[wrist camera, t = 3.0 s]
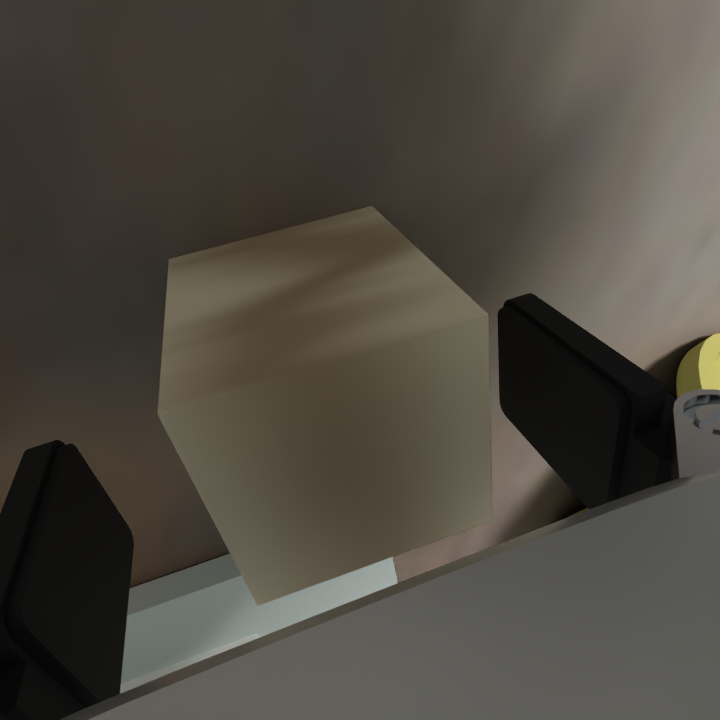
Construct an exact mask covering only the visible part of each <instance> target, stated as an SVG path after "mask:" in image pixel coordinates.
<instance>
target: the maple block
mask: <svg viewBox="0 0 720 720" xmlns="http://www.w3.org/2000/svg"><path fill="white" fill-rule="evenodd" d="M157 415H158V416H159V418H160V420H161V422H162V424H163V426H164V428H165V430H166V432H167V434H168V436H169V437H170V439H171V441H172V443H173V445H174V447H175V449H176V451H177V453H178V455H179V457H180V458H181V460H182V462H183V464H184V466H185V468H186V470H187V472H188V474H189V476H190V478H191V480H192V481H193V483H194V485H195V487H196V489H197V491H198V493H199V495H200V497H201V499H202V501H203V502H204V504H205V506H206V508H207V510H208V512H209V514H210V516H211V518H212V520H213V522H214V523H215V525H216V527H217V529H218V531H219V533H220V535H221V537H222V539H223V541H224V543H225V545H226V546H227V548H228V550H229V552H230V554H231V556H232V558H233V560H234V562H235V564H236V566H237V567H238V569H239V571H240V573H241V575H242V577H243V579H244V581H245V583H246V585H247V587H248V588H249V590H250V592H251V594H252V596H253V598H254V600H255V602H256V604H257V606H259V605H262V604H264V603H267V602H270V601H273V600H275V599H278V598H281V597H284V596H286V595H289V594H292V593H295V592H297V591H300V590H303V589H306V588H308V587H311V586H314V585H317V584H319V583H322V582H325V581H328V580H330V579H333V578H336V577H339V576H341V575H344V574H347V573H349V572H352V571H355V570H358V569H360V568H363V567H366V566H369V565H371V564H374V563H377V562H380V561H382V560H385V559H388V558H391V557H393V556H396V555H399V554H402V553H404V552H407V551H410V550H413V549H415V548H418V547H421V546H424V545H426V544H429V543H432V542H435V541H437V540H440V539H443V538H446V537H448V536H451V535H454V534H457V533H459V532H462V531H465V530H467V529H470V528H473V527H476V526H478V525H481V524H484V523H487V522H489V521H492V520H493V515H492V466H491V417H490V368H489V319H488V313H486V312H485V311H484V310H483V309H482V308H481V307H480V306H479V305H478V304H477V303H476V302H475V301H474V300H473V299H471V298H470V297H469V296H468V295H467V294H466V293H465V292H464V291H463V290H462V289H461V288H460V287H459V286H458V285H456V284H455V283H454V282H453V281H452V280H451V279H450V278H449V277H448V276H447V275H446V274H445V273H444V272H443V271H441V270H440V269H439V268H438V267H437V266H436V265H435V264H434V263H433V262H432V261H431V260H430V259H429V258H428V257H426V256H425V255H424V254H423V253H422V252H421V251H420V250H419V249H418V248H417V247H416V246H415V245H414V244H413V243H411V242H410V241H409V240H408V239H407V238H406V237H405V236H404V235H403V234H402V233H401V232H400V231H399V230H398V229H396V228H395V227H394V226H393V225H392V224H391V223H390V222H389V221H388V220H387V219H386V218H385V217H384V216H383V215H381V214H380V213H379V212H378V211H377V210H376V209H375V208H374V207H373V206H369V207H366V208H362V209H358V210H354V211H350V212H346V213H343V214H339V215H335V216H331V217H327V218H324V219H320V220H316V221H312V222H308V223H304V224H301V225H297V226H293V227H289V228H285V229H282V230H278V231H274V232H270V233H266V234H262V235H259V236H255V237H251V238H247V239H243V240H240V241H236V242H232V243H228V244H224V245H220V246H217V247H213V248H209V249H205V250H201V251H198V252H194V253H190V254H186V255H182V256H178V257H175V258H171V259H169V264H168V277H167V291H166V305H165V318H164V332H163V346H162V359H161V373H160V387H159V400H158V414H157Z"/></svg>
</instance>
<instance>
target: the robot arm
mask: <svg viewBox="0 0 720 720" xmlns="http://www.w3.org/2000/svg"><path fill="white" fill-rule="evenodd" d="M498 349H499V398H500V405H501V408H502V411H503V412H504V414H505V415H506V417H507V418H508V419H509V420H510V421H511V422H512V423H513V425H514V426H515V427H516V428H517V429H518V430H519V431H520V432H521V434H522V435H523V436H524V437H525V438H526V439H527V440H528V441H529V443H530V444H531V445H532V446H533V447H534V448H535V449H536V450H537V451H538V453H539V454H540V455H541V456H542V457H543V458H544V459H545V460H546V462H547V463H548V464H549V465H550V466H551V467H552V468H553V469H554V471H555V472H556V473H557V474H558V475H559V476H560V477H561V478H562V480H563V481H564V482H565V483H566V484H567V485H568V486H569V487H570V488H571V490H572V491H573V492H574V493H575V494H576V495H577V496H578V497H579V499H580V500H581V501H582V502H583V503H584V504H585V505H586V506H587V508H588V509H589V510H587V511H584V512H581V513H578V514H576V515H573V516H570V517H568V518H565V519H563V520H560V521H557V522H555V523H552V524H550V525H547V526H544V527H542V528H539V529H537V530H534V531H531V532H529V533H526V534H524V535H521V536H518V537H516V538H513V539H511V540H508V541H505V542H503V543H500V544H498V545H495V546H492V547H490V548H487V549H485V550H482V551H479V552H477V553H474V554H472V555H469V556H466V557H464V558H461V559H459V560H456V561H454V562H451V563H448V564H446V565H443V566H441V567H438V568H436V569H433V570H430V571H428V572H425V573H423V574H420V575H418V576H415V577H412V578H410V579H407V580H405V581H402V582H400V583H397V584H395V585H392V586H389V587H387V588H384V589H382V590H379V591H377V592H374V593H372V594H369V595H366V596H364V597H361V598H359V599H356V600H354V601H351V602H349V603H346V604H343V605H341V606H338V607H336V608H333V609H331V610H328V611H326V612H323V613H320V614H318V615H315V616H313V617H310V618H308V619H305V620H303V621H300V622H298V623H295V624H293V625H290V626H288V627H285V628H283V629H280V630H277V631H275V632H272V633H270V634H267V635H265V636H262V637H260V638H257V639H255V640H252V641H250V642H247V643H245V644H242V645H240V646H237V647H235V648H232V649H230V650H227V651H225V652H222V653H220V654H217V655H214V656H212V657H209V658H207V659H204V660H202V661H199V662H197V663H194V664H192V665H189V666H187V667H184V668H182V669H179V670H177V671H174V672H172V673H169V674H167V675H164V676H162V677H160V678H157V679H155V680H152V681H150V682H148V683H145V684H143V685H140V686H138V687H135V688H133V689H131V690H128V691H126V692H123V693H121V694H120V687H121V676H122V665H123V654H124V644H125V633H126V622H127V611H128V601H129V590H130V579H131V568H132V558H133V547H134V542H133V536H132V533H131V530H130V528H129V526H128V525H127V523H126V522H125V520H124V519H123V517H122V516H121V514H120V513H119V511H118V510H117V508H116V507H115V505H114V504H113V502H112V501H111V499H110V498H109V496H108V495H107V493H106V492H105V490H104V489H103V487H102V485H101V484H100V482H99V481H98V479H97V478H96V476H95V475H94V473H93V472H92V470H91V469H90V467H89V466H88V464H87V463H86V461H85V460H84V458H83V457H82V455H81V454H80V452H79V451H78V449H77V448H76V447H75V445H73V444H67V445H65V444H64V443H63V442H62V441H60V440H55V441H52V442H49V443H46V444H43V445H39V446H36V447H33V448H30V449H27V450H26V451H25V452H24V454H23V456H22V459H21V462H20V464H19V467H18V469H17V472H16V475H15V477H14V480H13V482H12V485H11V487H10V490H9V493H8V495H7V498H6V500H5V503H4V506H3V508H2V511H1V513H0V720H720V390H716V389H700V390H695V391H689V392H687V393H685V394H683V395H681V396H680V397H679V398H678V399H676V398H675V397H673V396H672V395H671V394H669V393H668V392H667V391H668V387H667V386H666V385H664V384H663V383H661V382H660V381H658V380H657V379H655V378H654V377H653V376H651V375H650V374H648V373H647V372H645V371H644V370H642V369H641V368H640V367H638V366H637V365H635V364H634V363H632V362H631V361H629V360H628V359H626V358H625V357H624V356H622V355H621V354H619V353H618V352H616V351H615V350H613V349H612V348H611V347H609V346H608V345H606V344H605V343H603V342H602V341H600V340H599V339H597V338H596V337H595V336H593V335H592V334H590V333H589V332H587V331H586V330H584V329H583V328H582V327H580V326H579V325H577V324H576V323H574V322H573V321H571V320H570V319H568V318H567V317H566V316H564V315H563V314H561V313H560V312H558V311H557V310H555V309H554V308H553V307H551V306H550V305H548V304H547V303H545V302H544V301H542V300H541V299H539V298H538V297H537V296H535V295H533V294H531V293H529V294H525V295H522V296H519V297H516V298H512V299H509V300H507V301H505V303H504V306H503V308H501V309H500V310H499V312H498Z"/></svg>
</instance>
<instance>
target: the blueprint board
mask: <svg viewBox="0 0 720 720" xmlns="http://www.w3.org/2000/svg"><path fill="white" fill-rule="evenodd" d="M397 583H398V582H397V577H396V573H395V568H394V563H393V559H392V557H391V558H388V559H385V560H382V561H380V562H377V563H374V564H371V565H369V566H366V567H363V568H360V569H358V570H355V571H352V572H349V573H347V574H344V575H341V576H339V577H336V578H333V579H330V580H328V581H325V582H322V583H319V584H317V585H314V586H311V587H308V588H306V589H303V590H300V591H297V592H295V593H292V594H289V595H286V596H284V597H281V598H278V599H275V600H273V601H270V602H267V603H264V604H262V605H259V606H257V604H256V602H255V600H254V598H253V596H252V594H251V592H250V590H249V588H248V587H247V585H246V583H245V581H244V579H243V577H242V575H241V573H240V571H239V569H238V567H237V566H236V564H235V562H234V560H233V558H232V556H231V554H227V555H224V556H221V557H218V558H216V559H213V560H210V561H207V562H204V563H201V564H198V565H195V566H193V567H190V568H187V569H184V570H181V571H178V572H175V573H172V574H170V575H167V576H164V577H161V578H158V579H155V580H152V581H149V582H147V583H144V584H141V585H138V586H135V587H132V588H130V590H129V601H128V611H127V622H126V633H125V644H124V654H123V665H122V676H121V687H120V694H121V693H123V692H126V691H128V690H131V689H133V688H135V687H138V686H140V685H143V684H145V683H148V682H150V681H152V680H155V679H157V678H160V677H162V676H164V675H167V674H169V673H172V672H174V671H177V670H179V669H182V668H184V667H187V666H189V665H192V664H194V663H197V662H199V661H202V660H204V659H207V658H209V657H212V656H214V655H217V654H220V653H222V652H225V651H227V650H230V649H232V648H235V647H237V646H240V645H242V644H245V643H247V642H250V641H252V640H255V639H257V638H260V637H262V636H265V635H267V634H270V633H272V632H275V631H277V630H280V629H283V628H285V627H288V626H290V625H293V624H295V623H298V622H300V621H303V620H305V619H308V618H310V617H313V616H315V615H318V614H320V613H323V612H326V611H328V610H331V609H333V608H336V607H338V606H341V605H343V604H346V603H349V602H351V601H354V600H356V599H359V598H361V597H364V596H366V595H369V594H372V593H374V592H377V591H379V590H382V589H384V588H387V587H389V586H392V585H395V584H397Z"/></svg>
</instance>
